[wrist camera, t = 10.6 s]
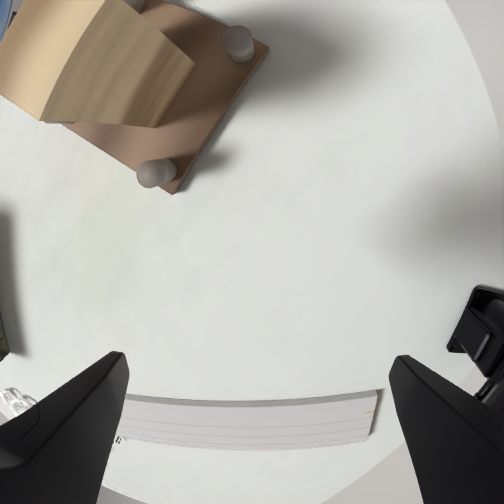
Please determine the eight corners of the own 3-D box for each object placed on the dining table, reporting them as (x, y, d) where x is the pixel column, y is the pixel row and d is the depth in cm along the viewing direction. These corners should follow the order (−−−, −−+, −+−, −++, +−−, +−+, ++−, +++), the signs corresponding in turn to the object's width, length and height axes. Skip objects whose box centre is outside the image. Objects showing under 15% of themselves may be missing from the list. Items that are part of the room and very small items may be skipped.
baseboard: (362, 442, 28) (374, 384, 25) (366, 460, 25) (380, 405, 22) (123, 437, 32) (92, 384, 29) (116, 452, 29) (81, 400, 26)
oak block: (196, 64, 16) (111, -8, 6) (155, 128, 18) (38, 120, 8) (139, 38, 16) (38, -21, 5) (103, 98, 17) (-17, 82, 7)
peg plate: (269, 50, 16) (267, 31, 13) (175, 193, 20) (155, 202, 17) (138, -4, 15) (117, -23, 12) (63, 122, 19) (34, 121, 15)
